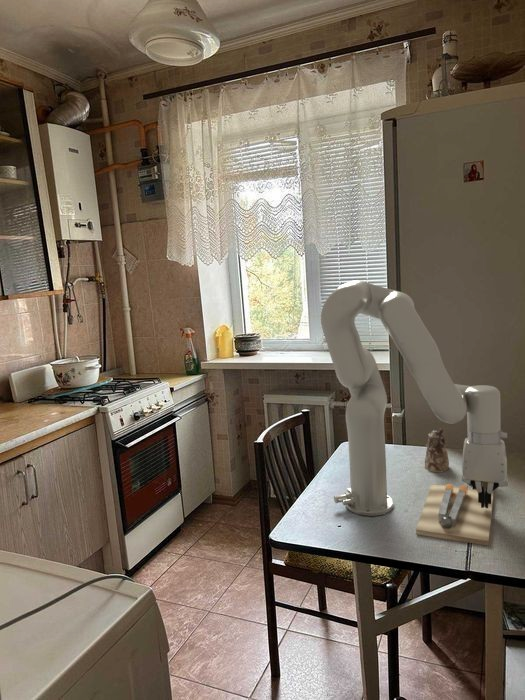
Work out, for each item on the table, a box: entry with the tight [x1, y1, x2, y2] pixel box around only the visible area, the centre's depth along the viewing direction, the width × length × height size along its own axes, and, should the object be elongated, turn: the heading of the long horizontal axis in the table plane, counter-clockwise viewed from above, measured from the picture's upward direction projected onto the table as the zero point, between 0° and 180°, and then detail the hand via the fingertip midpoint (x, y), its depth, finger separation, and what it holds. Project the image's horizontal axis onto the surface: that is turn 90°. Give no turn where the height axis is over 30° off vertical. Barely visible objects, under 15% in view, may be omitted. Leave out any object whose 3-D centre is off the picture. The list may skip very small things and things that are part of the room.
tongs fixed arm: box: [438, 483, 454, 522], centre depth 135 cm, size 18×2×2 cm, turn 154°
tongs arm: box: [441, 484, 469, 528], centre depth 133 cm, size 20×3×2 cm, turn 151°
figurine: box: [424, 428, 450, 473], centre depth 162 cm, size 7×7×12 cm
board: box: [415, 483, 494, 547], centre depth 134 cm, size 26×16×1 cm, turn 154°
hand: (484, 505), depth 132 cm, fingers closed
